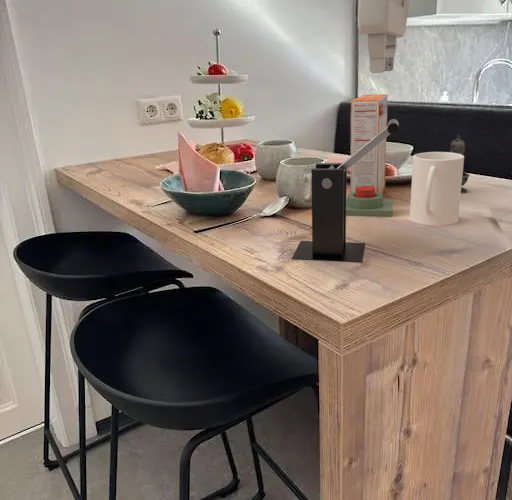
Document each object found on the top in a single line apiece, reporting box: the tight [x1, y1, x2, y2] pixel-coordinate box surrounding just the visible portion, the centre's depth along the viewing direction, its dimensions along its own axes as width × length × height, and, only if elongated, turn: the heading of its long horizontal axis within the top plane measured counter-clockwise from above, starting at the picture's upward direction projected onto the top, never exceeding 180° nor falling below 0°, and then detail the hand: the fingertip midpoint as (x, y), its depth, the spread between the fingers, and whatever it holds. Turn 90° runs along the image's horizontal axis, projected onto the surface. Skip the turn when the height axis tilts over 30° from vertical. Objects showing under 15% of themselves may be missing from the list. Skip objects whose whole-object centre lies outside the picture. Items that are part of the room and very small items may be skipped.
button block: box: [346, 192, 393, 218], centre depth 94 cm, size 10×8×4 cm
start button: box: [355, 186, 375, 198], centre depth 93 cm, size 4×4×2 cm
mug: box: [408, 151, 465, 226], centre depth 85 cm, size 12×8×12 cm
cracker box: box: [350, 93, 388, 195], centre depth 103 cm, size 14×6×21 cm, turn 161°
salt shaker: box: [449, 134, 471, 194], centre depth 107 cm, size 6×6×12 cm
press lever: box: [328, 118, 400, 172], centre depth 69 cm, size 13×5×2 cm
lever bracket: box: [291, 162, 366, 264], centre depth 73 cm, size 10×8×14 cm
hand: (382, 72), depth 70 cm, fingers open, 8 cm apart
